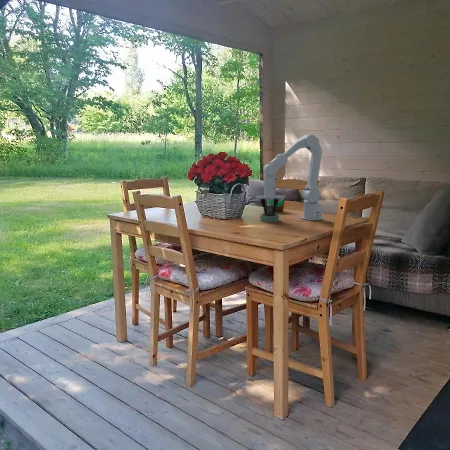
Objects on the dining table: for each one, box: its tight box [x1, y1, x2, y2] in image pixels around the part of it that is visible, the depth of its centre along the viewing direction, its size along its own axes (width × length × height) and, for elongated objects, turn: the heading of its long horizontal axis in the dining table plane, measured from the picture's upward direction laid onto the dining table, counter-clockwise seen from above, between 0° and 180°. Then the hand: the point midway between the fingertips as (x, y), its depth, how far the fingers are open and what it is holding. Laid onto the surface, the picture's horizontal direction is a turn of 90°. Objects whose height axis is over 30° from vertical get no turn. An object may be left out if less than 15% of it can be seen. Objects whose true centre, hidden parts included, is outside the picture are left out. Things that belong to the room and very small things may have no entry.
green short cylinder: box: [259, 213, 280, 223], centre depth 245 cm, size 10×10×3 cm
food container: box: [266, 193, 287, 213], centre depth 272 cm, size 12×6×10 cm, turn 73°
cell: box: [265, 204, 273, 216], centre depth 244 cm, size 4×4×6 cm
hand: (269, 213), depth 244 cm, fingers closed on cell, 4 cm apart
